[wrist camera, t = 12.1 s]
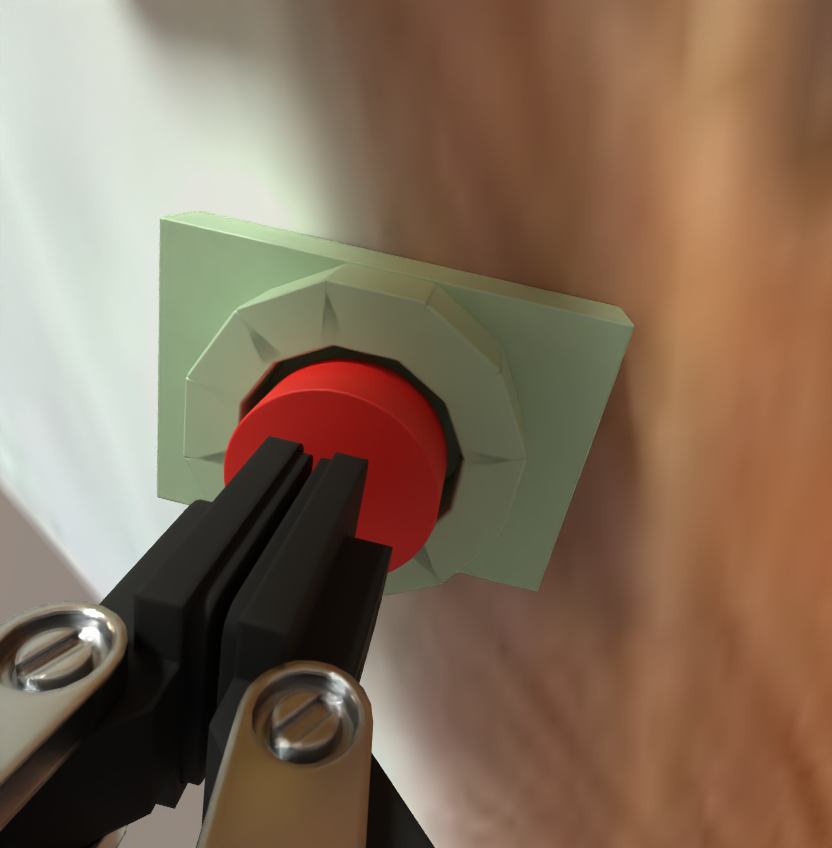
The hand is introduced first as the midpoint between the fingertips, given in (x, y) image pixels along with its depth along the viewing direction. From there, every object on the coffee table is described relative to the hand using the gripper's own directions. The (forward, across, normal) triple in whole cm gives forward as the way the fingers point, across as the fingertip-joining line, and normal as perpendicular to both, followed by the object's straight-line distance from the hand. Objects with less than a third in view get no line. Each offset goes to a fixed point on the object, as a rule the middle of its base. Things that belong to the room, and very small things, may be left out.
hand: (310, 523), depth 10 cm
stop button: (+3, 0, 0) cm, 3 cm away
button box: (+6, 0, 0) cm, 6 cm away
